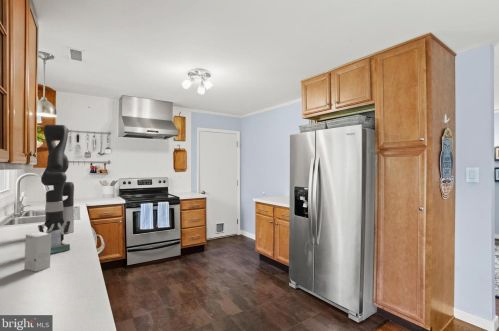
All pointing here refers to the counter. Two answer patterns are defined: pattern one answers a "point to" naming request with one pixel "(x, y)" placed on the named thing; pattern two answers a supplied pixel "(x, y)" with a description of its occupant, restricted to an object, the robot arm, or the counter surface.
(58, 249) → the wooden tray
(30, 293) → the counter surface
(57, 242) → the medicine box
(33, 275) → the counter surface
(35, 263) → the skincare box
